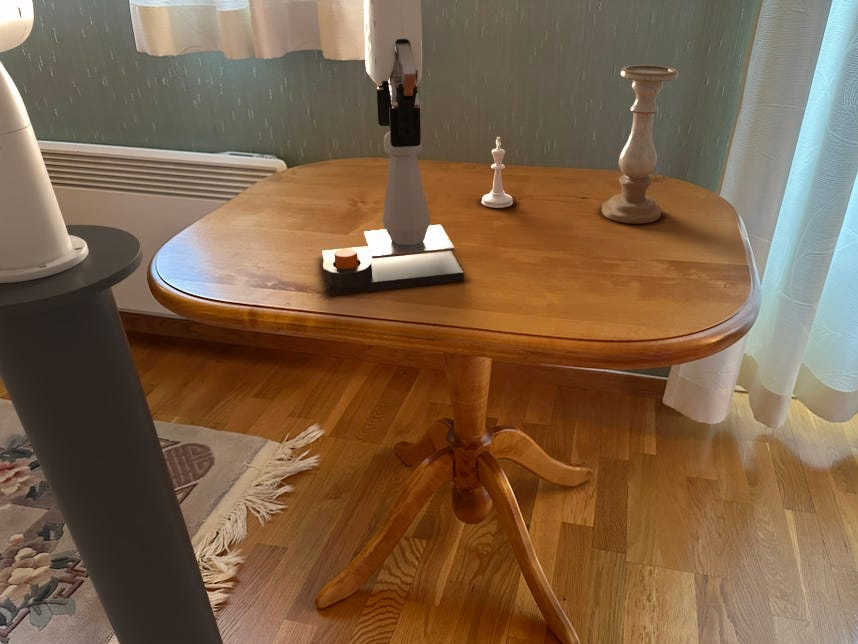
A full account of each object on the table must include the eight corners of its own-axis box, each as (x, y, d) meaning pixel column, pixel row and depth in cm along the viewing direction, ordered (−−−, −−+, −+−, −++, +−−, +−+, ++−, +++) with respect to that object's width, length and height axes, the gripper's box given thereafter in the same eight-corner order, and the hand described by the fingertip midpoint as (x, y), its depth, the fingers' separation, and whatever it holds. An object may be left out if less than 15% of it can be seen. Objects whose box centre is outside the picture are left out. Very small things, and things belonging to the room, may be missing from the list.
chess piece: (508, 196, 108) (510, 132, 103) (516, 206, 104) (518, 140, 99) (478, 198, 107) (478, 134, 102) (485, 208, 103) (486, 142, 98)
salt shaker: (376, 245, 82) (367, 135, 75) (394, 228, 87) (387, 124, 80) (422, 250, 81) (417, 139, 74) (437, 233, 85) (434, 127, 79)
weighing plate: (372, 259, 79) (371, 255, 79) (364, 234, 86) (363, 231, 86) (454, 250, 82) (454, 247, 82) (440, 227, 88) (440, 224, 88)
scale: (327, 299, 77) (324, 275, 76) (320, 259, 87) (317, 237, 85) (465, 284, 81) (465, 260, 79) (444, 247, 90) (443, 225, 89)
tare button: (336, 272, 77) (335, 257, 76) (335, 263, 79) (333, 249, 78) (359, 269, 78) (358, 255, 77) (357, 260, 80) (355, 247, 79)
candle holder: (642, 229, 96) (663, 77, 86) (590, 215, 101) (604, 69, 90) (671, 213, 102) (694, 68, 91) (620, 200, 107) (637, 61, 96)
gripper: (345, -43, 74) (356, 119, 83) (364, -37, 60) (375, 157, 69) (413, -41, 76) (416, 117, 85) (447, -36, 62) (447, 153, 71)
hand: (398, 134), depth 77 cm, fingers open, 9 cm apart
